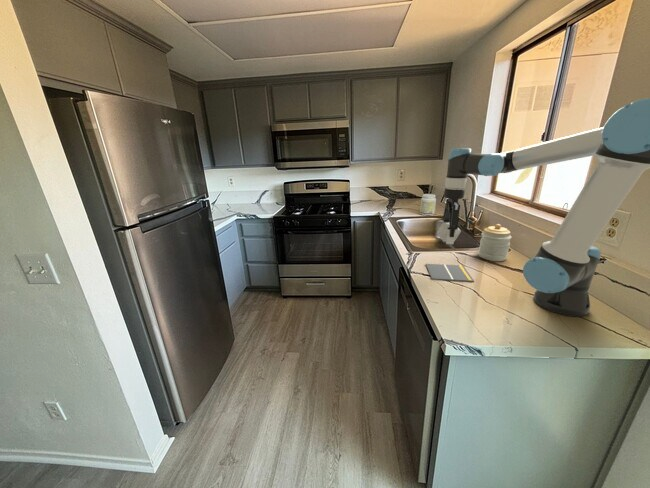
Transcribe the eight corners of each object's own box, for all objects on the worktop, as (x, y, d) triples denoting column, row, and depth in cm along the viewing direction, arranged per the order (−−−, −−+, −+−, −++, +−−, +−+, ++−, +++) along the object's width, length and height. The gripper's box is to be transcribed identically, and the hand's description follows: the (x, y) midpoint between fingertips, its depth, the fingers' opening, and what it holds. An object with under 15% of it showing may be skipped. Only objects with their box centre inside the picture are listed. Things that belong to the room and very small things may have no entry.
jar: (512, 261, 132) (520, 227, 126) (486, 261, 132) (492, 227, 126) (497, 252, 144) (503, 220, 138) (472, 252, 145) (478, 220, 139)
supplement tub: (424, 212, 237) (426, 193, 232) (437, 214, 229) (439, 194, 223) (416, 214, 230) (418, 194, 224) (429, 216, 221) (432, 196, 216)
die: (453, 238, 121) (441, 220, 121) (468, 234, 113) (455, 215, 113) (441, 248, 118) (429, 229, 118) (456, 244, 110) (443, 224, 110)
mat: (474, 282, 113) (474, 280, 113) (431, 279, 116) (431, 278, 116) (463, 266, 128) (463, 265, 127) (425, 264, 131) (425, 263, 131)
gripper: (473, 192, 98) (463, 249, 106) (457, 184, 118) (450, 232, 126) (451, 192, 100) (443, 248, 107) (439, 184, 120) (433, 232, 127)
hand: (447, 240), depth 117 cm, fingers closed on die, 9 cm apart
